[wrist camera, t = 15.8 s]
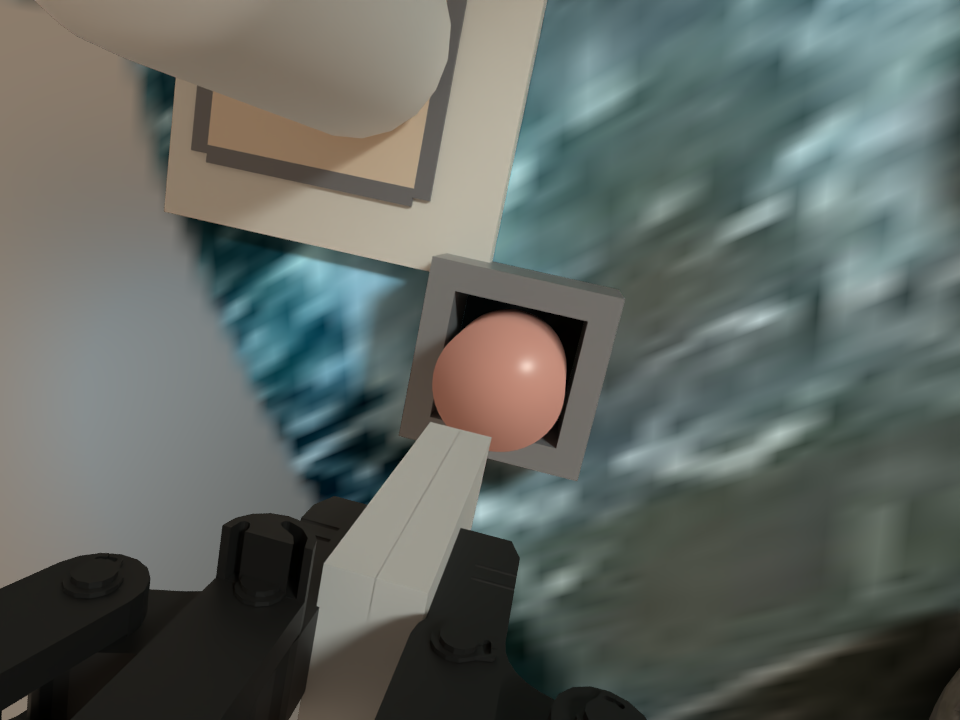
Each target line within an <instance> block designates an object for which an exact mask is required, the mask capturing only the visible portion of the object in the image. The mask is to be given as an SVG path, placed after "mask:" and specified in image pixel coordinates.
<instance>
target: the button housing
mask: <svg viewBox="0 0 960 720" xmlns="http://www.w3.org/2000/svg"><path fill="white" fill-rule="evenodd" d="M468 294H470V295H474V296H479V297H483V298H487V299H492V300H496V301H501V302H505V303H509V304H514V305H518V306H523V307H527V308H531V309H536V310H540V311H544V312H549V313H553V314H558V315H562V316H566V317H571V318H575V319H579V320H584V322H583V326H582V330H581V334H580V338H579V342H578V346H577V350H576V354H575V358H574V362H573V366H572V370H571V375H570V379H569V383H568V387H567V391H566V395H565V399H564V403H563V407H562V411H561V415H560V419H559V421H558V420H557V421H556V422H555V424H554V425H553V427H552V428H551V429H550V430H549V431H548V432H547V434H545V435H544V436H543V437H542V438H541V439H539V440H538V441H536V442H535V443H533V444H531V445H529V446H527V447H525V448H522V449H519V450H514V451H509V452H492V451H488V456H487V458H488V459H492V460H496V461H500V462H504V463H508V464H512V465H516V466H519V467H523V468H527V469H531V470H535V471H539V472H543V473H547V474H551V475H555V476H559V477H563V478H567V479H571V480H574V481H577V480H578V476H579V473H580V469H581V465H582V461H583V457H584V454H585V450H586V446H587V442H588V438H589V435H590V431H591V427H592V423H593V419H594V416H595V412H596V408H597V404H598V400H599V397H600V393H601V389H602V385H603V381H604V378H605V374H606V370H607V366H608V362H609V359H610V355H611V351H612V347H613V343H614V340H615V336H616V332H617V328H618V324H619V321H620V317H621V313H622V309H623V305H624V301H625V298H624V297H623V295H622V294H621V292H620V291H619V290H618V289H614V288H609V287H605V286H600V285H596V284H591V283H587V282H582V281H578V280H573V279H569V278H564V277H560V276H555V275H551V274H546V273H542V272H537V271H533V270H528V269H524V268H519V267H515V266H510V265H506V264H501V263H497V262H490V263H489V262H484V261H480V260H475V259H471V258H466V257H462V256H457V255H453V254H448V253H446V254H441V255H436V256H432V262H431V267H430V272H429V278H428V283H427V288H426V294H425V299H424V304H423V310H422V315H421V320H420V325H419V331H418V336H417V341H416V347H415V352H414V357H413V363H412V368H411V373H410V379H409V384H408V389H407V395H406V400H405V405H404V411H403V416H402V421H401V427H400V432H399V436H402V437H406V438H409V439H413V440H417V439H418V438H419V436H420V435H421V434H422V433H423V431H424V430H425V429H426V427H427V426H428V425H429V423H430V422H433V423H437V424H441V425H445V426H447V425H446V424H445V423H444V422H443V420H442V418H441V416H440V415H439V413H438V410H437V408H436V405H435V401H434V398H433V390H432V380H433V373H434V369H435V365H436V363H437V360H438V358H439V356H440V354H441V353H442V351H443V349H444V348H445V347H446V346H447V344H448V343H449V342H450V341H451V340H452V339H453V338H454V337H455V336H456V335H458V334H459V333H460V332H461V328H462V323H463V318H464V313H465V308H466V304H467V299H468Z"/></svg>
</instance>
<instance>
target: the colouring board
mask: <svg viewBox="0 0 960 720" xmlns="http://www.w3.org/2000/svg"><path fill="white" fill-rule="evenodd" d="M446 2H447V7H448V12H449V17H450V22H451V30H450V41H449V53H448V61H447V63H446V66H445V68H444V71H443V73H442V76H441V78H440V81H439V84H438V86H437V89H436V91H435V92H434V93H433V94H432V96H431V97H430V98H429V99H428V101H427V102H426V103H425V104H424V106H423V107H422V108H421V109H420V111H419V112H418V113H417V114H416V115H415V116H413V117H412V118H410V119H409V120H407V121H406V122H404V123H403V124H401V125H400V126H398V127H397V128H395V129H394V130H392V131H389V132H385V133H381V134H377V135H373V136H370V137H366V138H352V137H342V136H333V135H330V134H327V133H325V132H322V131H319V130H317V129H314V128H311V127H308V126H306V125H303V124H300V123H298V122H295V121H292V120H290V119H287V118H284V117H281V116H279V115H276V114H273V113H271V112H268V111H265V110H263V109H260V108H257V107H254V106H252V105H249V104H246V103H244V102H241V101H238V100H236V99H233V98H230V97H227V96H225V95H222V94H219V93H217V92H214V91H211V90H209V89H206V88H203V87H200V86H198V85H195V84H192V83H190V82H187V81H184V80H182V79H179V78H176V82H175V93H174V105H173V116H172V127H171V139H170V150H169V161H168V173H167V184H166V196H165V207H164V212H168V213H172V214H177V215H181V216H186V217H190V218H195V219H199V220H203V221H208V222H212V223H217V224H221V225H225V226H230V227H234V228H239V229H243V230H248V231H252V232H256V233H261V234H265V235H270V236H274V237H278V238H283V239H287V240H292V241H296V242H301V243H305V244H309V245H314V246H318V247H323V248H327V249H332V250H336V251H340V252H345V253H349V254H354V255H358V256H362V257H367V258H371V259H376V260H380V261H385V262H389V263H393V264H398V265H402V266H407V267H411V268H415V269H420V270H424V271H429V272H430V267H431V262H432V256H436V255H441V254H446V253H448V254H453V255H457V256H462V257H466V258H471V259H475V260H480V261H484V262H489V263H490V262H492V261H493V256H494V251H495V246H496V242H497V237H498V232H499V227H500V223H501V218H502V213H503V208H504V204H505V199H506V194H507V189H508V185H509V180H510V175H511V170H512V166H513V161H514V156H515V151H516V147H517V142H518V137H519V132H520V128H521V123H522V118H523V113H524V109H525V104H526V99H527V94H528V90H529V85H530V80H531V75H532V71H533V66H534V61H535V56H536V51H537V47H538V42H539V37H540V32H541V28H542V23H543V18H544V13H545V9H546V4H547V0H446Z"/></svg>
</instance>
